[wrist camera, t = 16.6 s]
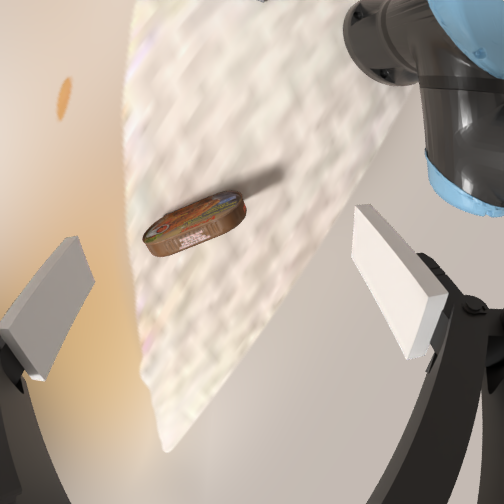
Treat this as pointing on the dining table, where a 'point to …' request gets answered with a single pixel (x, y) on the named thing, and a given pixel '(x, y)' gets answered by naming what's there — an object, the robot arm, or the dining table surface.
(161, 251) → the tin
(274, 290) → the dining table surface
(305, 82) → the dining table surface
